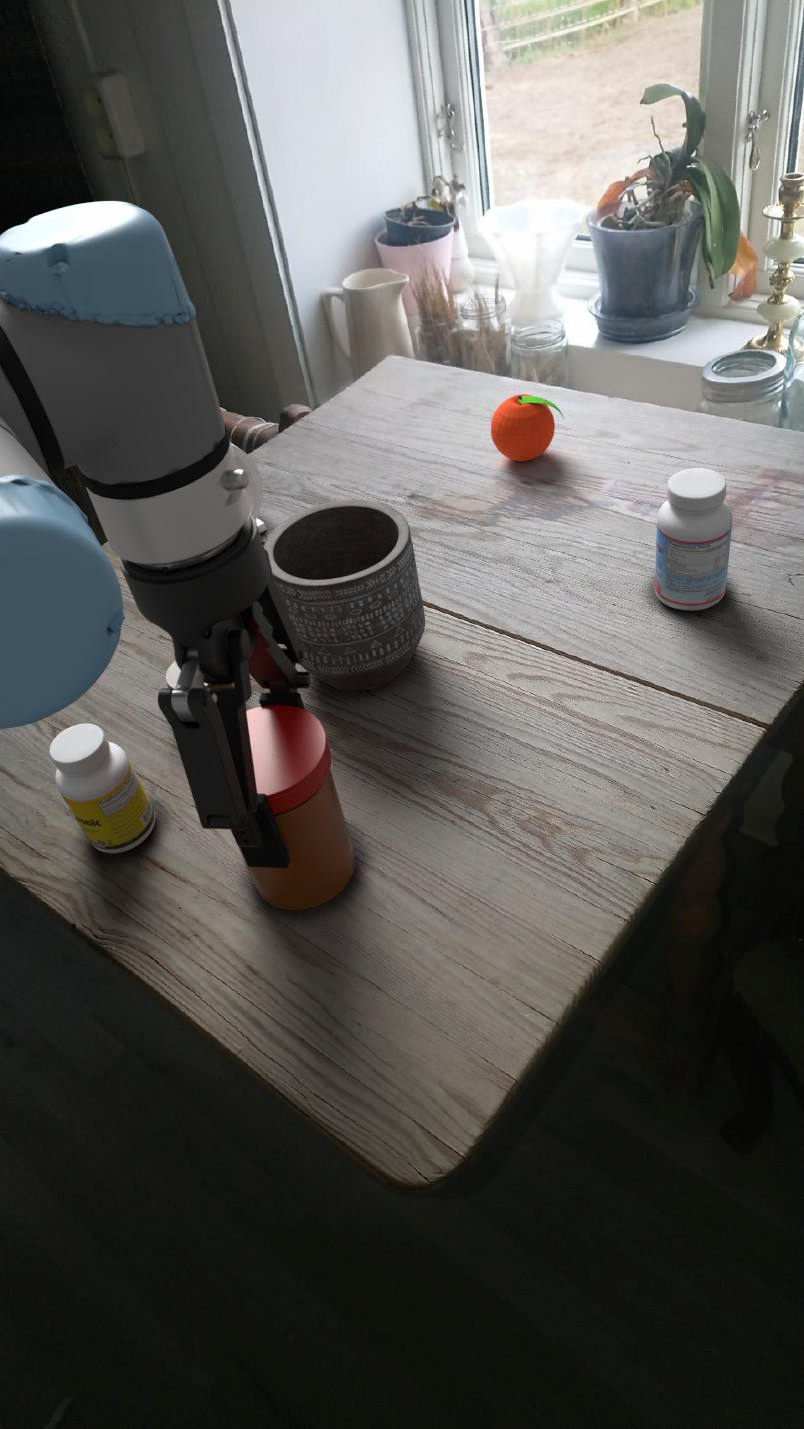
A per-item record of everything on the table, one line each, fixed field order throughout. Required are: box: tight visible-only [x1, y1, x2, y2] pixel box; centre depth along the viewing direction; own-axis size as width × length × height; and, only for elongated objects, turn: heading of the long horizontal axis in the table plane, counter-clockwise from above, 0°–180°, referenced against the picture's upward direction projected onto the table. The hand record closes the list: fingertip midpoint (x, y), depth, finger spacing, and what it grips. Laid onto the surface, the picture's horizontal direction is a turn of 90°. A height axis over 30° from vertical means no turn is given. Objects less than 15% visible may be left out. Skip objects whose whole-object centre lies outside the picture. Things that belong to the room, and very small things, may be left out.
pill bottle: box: [654, 467, 733, 611], centre depth 83 cm, size 6×6×11 cm
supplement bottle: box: [49, 723, 157, 854], centre depth 73 cm, size 5×5×10 cm
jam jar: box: [237, 769, 356, 911], centre depth 67 cm, size 8×8×12 cm
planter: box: [263, 499, 426, 692], centre depth 83 cm, size 12×12×13 cm
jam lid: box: [246, 705, 332, 814], centre depth 63 cm, size 8×8×2 cm
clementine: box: [490, 393, 565, 462], centre depth 105 cm, size 8×7×7 cm
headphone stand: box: [231, 442, 267, 534], centre depth 102 cm, size 5×6×12 cm
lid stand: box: [164, 660, 234, 688], centre depth 84 cm, size 5×5×4 cm
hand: (285, 810), depth 67 cm, fingers closed on jam lid, 8 cm apart
